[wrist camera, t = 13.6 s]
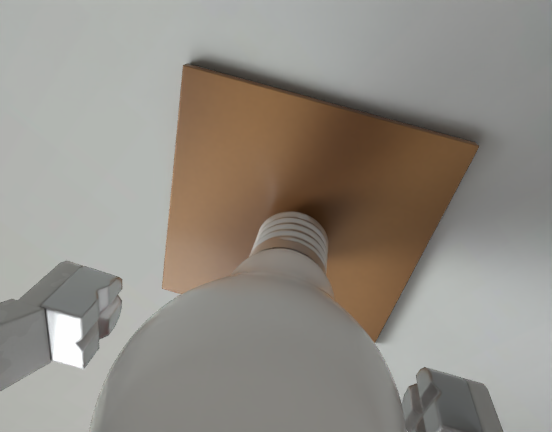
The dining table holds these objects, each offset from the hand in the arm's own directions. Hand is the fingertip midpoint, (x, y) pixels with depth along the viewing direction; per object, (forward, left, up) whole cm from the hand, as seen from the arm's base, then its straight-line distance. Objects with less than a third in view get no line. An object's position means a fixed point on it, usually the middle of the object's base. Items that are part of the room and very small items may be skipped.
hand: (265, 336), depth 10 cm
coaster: (0, 0, -6) cm, 6 cm away
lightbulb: (0, 0, -6) cm, 6 cm away
